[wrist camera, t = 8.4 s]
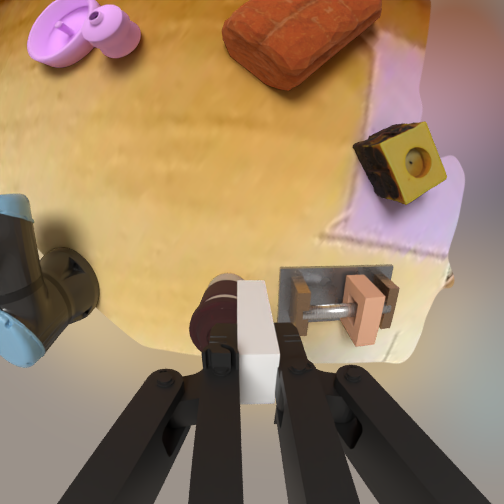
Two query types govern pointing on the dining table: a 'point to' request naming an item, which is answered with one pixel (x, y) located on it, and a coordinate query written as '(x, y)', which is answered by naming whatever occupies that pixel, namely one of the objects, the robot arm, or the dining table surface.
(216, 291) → the coffee cup
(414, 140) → the candle
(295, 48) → the bread
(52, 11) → the container set
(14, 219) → the robot arm
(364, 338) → the collar
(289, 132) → the dining table surface
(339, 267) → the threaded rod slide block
